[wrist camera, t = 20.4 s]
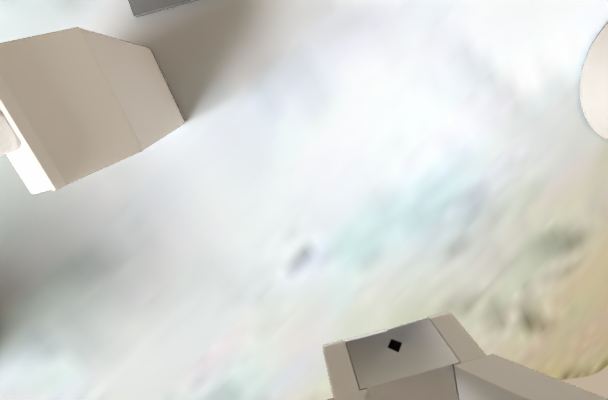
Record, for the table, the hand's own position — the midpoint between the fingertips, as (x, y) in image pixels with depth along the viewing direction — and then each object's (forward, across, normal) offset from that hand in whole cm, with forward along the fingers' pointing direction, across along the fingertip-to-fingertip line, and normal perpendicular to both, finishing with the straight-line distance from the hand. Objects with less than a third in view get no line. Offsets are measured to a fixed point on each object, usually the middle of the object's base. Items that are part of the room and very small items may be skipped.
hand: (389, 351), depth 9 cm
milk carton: (+32, -13, +8) cm, 35 cm away
